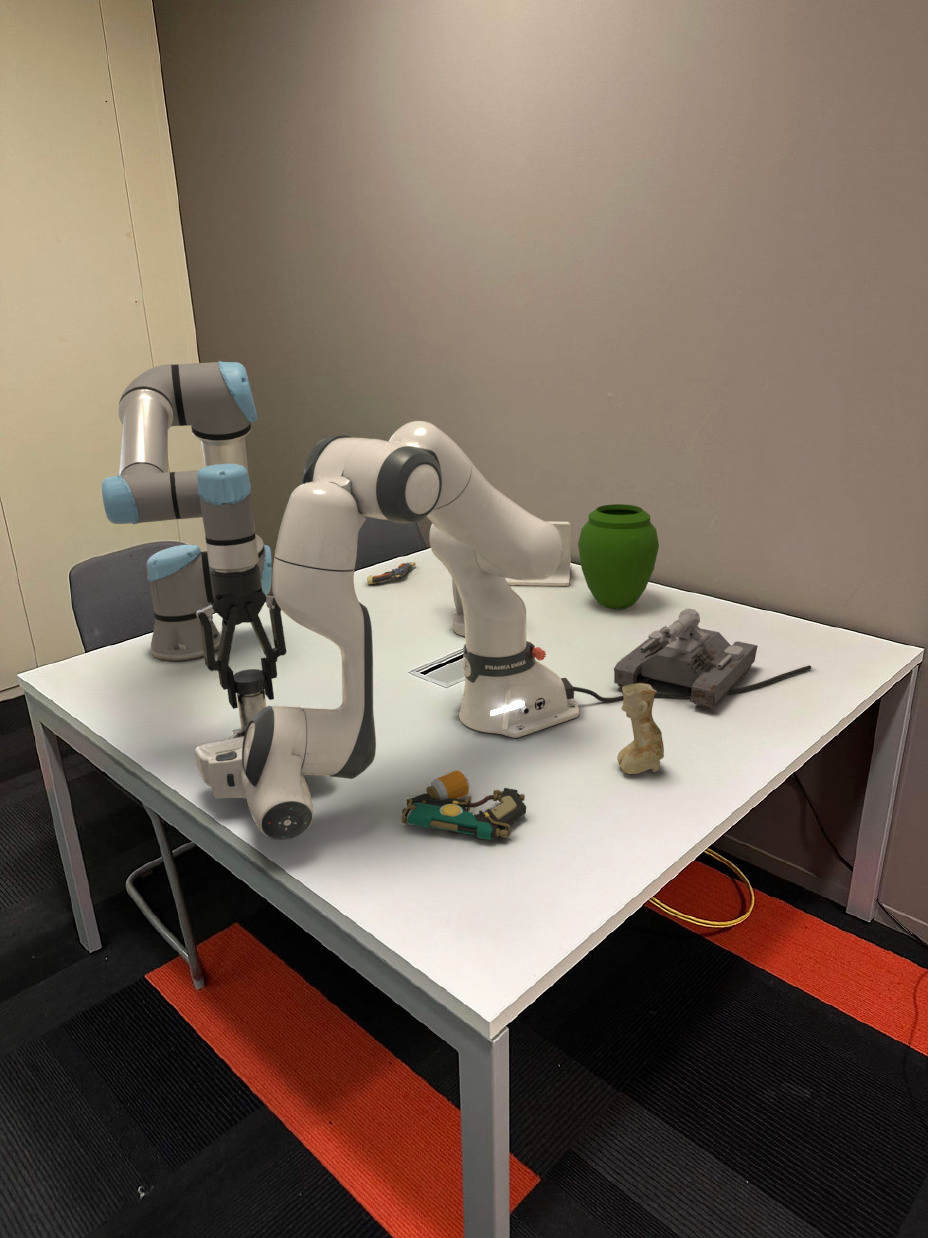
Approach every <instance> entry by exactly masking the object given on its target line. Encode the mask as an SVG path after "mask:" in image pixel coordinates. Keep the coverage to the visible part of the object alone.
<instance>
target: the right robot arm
mask: <svg viewBox="0 0 928 1238" xmlns="http://www.w3.org/2000/svg"><path fill="white" fill-rule="evenodd" d="M301 479H302V480H301V483H302V484H300V485H298V486H297V487H296V488H295V489H294V490H293V491H292V492H291V494H290V496H289V499H288V502H287V504H286V506H285V510H284V513H283V516H282V519H281V523H280V527H279V530H278V535H277V539H276V544H275V550H274V556H273V562H272V563H273V564H272V581H271V593H272V595H273V596H274V598H275V601H276V603H277V604H278V606H279V607H280V608H281V612H282V613H284V614H285V615H287V617H288V618H290V619H291V620H292V621H293V622H295V623H296V624H298V625H300V626H301V627H304V628H305V629H307V630H309V631H311V632H313V633H315V634H317V635H319V636H321V637H323V638H325V639H327V640H329V641H331V642H332V643H334V645H336V647H338V649H339V653H340V656H341V697H342V699H341V704H340V705H339V706H338V707H336V708H314V707H313V708H312V707H301V706H289V705H288V706H287V705H285V706H284V705H266V708H264V709H262V710H261V711H260V712H259V713H258V714H257V715H256V716H255V717H254V718H253V719H252V720H251V721H250V723H249V724H248V726H247V728H246V731H245V735H244V736H243V732H242V729H241V728H238V729H232V734H231V735H230V736H229V737H228V738H227V739H224V740H217V741H213V742H207V743H201V744H199V745H198V746H196V747H195V749H194V753H195V760H196V766H197V770H198V773H199V775H200V777H201V779H202V781H203V782H204V783H205V785H207V786H208V787H209V788H210V789H211V792H212V795H213V797H214V798H215V799H245V800H246V803H247V806H248V810H249V812H250V815H251V818H252V820H253V821H254V824H255V826H256V827H257V828H258V829H259V831H260V832H261V833H262V834H263V835H264V836H266V837H268V838H269V839H271V840H281V841H282V840H291V839H295V838H298V836H300V835H302V834H303V833H305V832H306V831H307V830H308V829H309V828H310V827H311V825H312V823H313V820H314V806H313V805H314V804H313V801H312V800H313V799H312V795H311V792H310V789H309V786H308V784H307V783H308V782H307V781H306V778H305V777H304V776H328V777H331V778H341V779H349V780H353V779H355V778H357V777H359V776H360V775H361V774H362V773H364V771H366V770H367V769H368V768H369V767H370V766H371V765H372V764H373V762H374V760H375V757H376V749H377V738H376V737H377V736H376V726H375V715H374V713H375V712H374V647H373V646H374V645H373V643H374V641H373V628H372V621H371V616H370V612H369V609H368V608H367V606H366V605H364V604H363V603H361V602H360V601H359V600H358V597H357V593H356V590H355V582H354V580H355V569H356V562H357V554H358V552H357V551H358V544H359V543H358V541H359V532H360V530H361V528H362V527H363V524H364V523H365V522H366V520H367V518H371V519H375V520H386V521H390V522H391V523H395V524H414V523H415V524H416V523H419V522H421V521H423V520H424V519H426V518H427V519H428V520H429V521H430V522H431V525H430V529H429V534H428V540H429V541H428V543H429V546H430V549H431V552H432V554H433V555H434V556H435V557H436V558H437V560H438V561H440V563H442V565H443V566H444V567H445V568H446V569H447V571H448V573H449V575H450V577H451V580H452V579H453V581H454V583H455V585H456V587H457V590H458V592H459V595H460V598H461V601H462V606H463V611H464V623H465V636H464V638H465V639H464V640H465V641H464V642H465V644H464V645H463V650H462V651H463V656H462V666H463V667H462V668H463V674H464V689H463V694H462V695H463V696H462V702H461V705H460V710H459V712H458V718H459V721H460V722H461V723H462V724H463V725H464V726H466V727H467V728H469V729H471V730H475V731H477V732H482V733H488V734H498V735H499V734H500V735H502V736H506V737H509V738H514V739H515V738H516V739H517V738H522V737H524V736H527V735H529V734H533V733H534V732H535V733H536V732H538V731H541V730H544V729H547V728H550V727H554V726H555V725H559V724H561V723H564V722H567V721H570V720H572V719H573V720H574V719H576V718H578V717H579V716H580V707H579V705H578V703H577V701H576V700H575V692H576V693H577V692H578V693H582V694H587V695H590V696H592V697H594V698H595V699H596V700H597V701H599V702H603V703H614V702H615V703H616V702H620V701H623V700H624V694H623V695H620V696H615V697H603V696H601V695H599V694H598V693H597V692H595V691H594V690H592V689H588V688H583V687H578V686H574V685H573V684H572V683H571V682H570V681H569V680H568V678H567V677H560V676H559V675H558V674H557V673H556V672H555V671H554V670H552V669H550V667H547V666H546V665H545V664H543V663H542V661H543V660H545V658H546V657H547V653H546V651H545V650H544V649H543V648H541V647H539V646H535V644H533V643H532V642H530V641H528V640H527V608H526V607H527V606H526V603H525V602H524V600H523V598H522V597H521V596H520V595H519V594H518V593H517V592H515V590H514V589H513V588H512V587H511V585H508V583H507V581H506V579H505V578H510V579H515V580H544V579H547V578H548V577H550V576H551V575H552V574H553V573H554V572H555V571H556V569H557V568H558V566H559V564H560V562H561V559H562V555H563V542H562V538H561V535H560V533H559V531H558V529H557V528H556V527H555V526H554V525H552V524H550V523H548V522H549V521H546V520H544V519H542V518H539V517H538V516H536V515H534V514H532V513H530V512H529V511H527V510H526V509H524V508H523V507H521V506H520V505H519V504H518V503H516V502H515V501H513V500H512V499H511V498H509V497H507V496H506V495H505V494H504V493H502V492H501V491H499V490H498V489H497V488H495V486H493V485H492V484H491V483H490V482H489V481H488V480H487V479H486V478H485V477H484V475H483V473H481V471H480V470H479V468H477V467H476V465H475V464H474V463H473V461H472V460H471V459H470V458H469V456H468V454H467V453H466V452H465V451H464V450H463V449H462V448H461V447H460V446H459V445H458V444H457V443H456V442H455V441H454V440H453V439H452V438H451V437H450V436H449V435H447V433H445V432H444V431H443V430H442V429H440V428H438V426H436V425H435V424H433V423H431V422H428V421H425V420H414V421H409V422H407V423H405V424H403V425H402V426H400V427H399V428H397V429H396V430H395V431H394V433H393V434H392V435H391V436H390V438H389V440H383V439H380V438H379V439H378V438H367V437H352V436H349V435H346V434H345V435H332V436H327V437H324V438H322V439H320V440H319V441H318V442H316V444H314V446H313V447H312V448H311V450H310V452H309V454H308V455H307V457H306V461H305V464H304V468H303V473H302V478H301ZM540 661H541V662H540ZM811 669H812V665H810V664H809V665H805V666H802V667H799V668H797V669H792V670H790V671H787V672H784V673H782V674H781V673H780V674H777V675H776V676H773V677H770V678H768V679H766V680H763V681H759V682H757V683H753V684H749V685H745V686H741V687H737V688H732V689H731V690H729V691H728V694H727V695H732V694H737V693H741V692H746V691H749V690H753V689H757V688H759V687H763V686H766V685H768V684H771V683H773V682H776V681H777V682H778V681H779V680H781V679H784V678H785V679H786V678H788V677H790V676H794V675H797V674H800V673H802V672H806V671H809V670H811ZM691 693H692V692H662V691H661V692H660V691H656V694H655V696H654V697H664V698H691Z"/></svg>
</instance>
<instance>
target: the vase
mask: <svg viewBox="0 0 928 1238" xmlns="http://www.w3.org/2000/svg"><path fill="white" fill-rule="evenodd" d="M587 516H588V517H587V518H588V521H587V522H586V523H585V524H584V525H583V526H582V527H581V529H580V534H579V538H578V541H577V546H578V554H579V562H580V569H581V571H582V574H583V577H584V580H585V583H586V585H587V588H588V590H589V591H590V594H592V597H593V598H594V600H595V601H596V602H597V603H598V604H599V605H600V606H602V607H604V608H606V609H609V610H625V609H628V608H630V607H632V606H634V604H636V602H638V601H639V599H640V597H641V596H642V595H643V593H644V592H645V590H646V588H647V586H648V584H649V581H650V579H651V577H652V574H653V572H654V570H655V566H656V562H657V557H658V552H659V548H660V544H659V543H660V542H659V537H658V531H657V528H656V527H655V526H654V524H653V523H652V522H651V515H650V514H649V512H647V511H645V510H644V509H643V508H642V507H641V506H638V505H633V504H622V503H621V504H619V503H616V504H615V503H614V504H604V505H601V506H598V507H597V508H595V509H594V510H592V511H591V512H590V513H589V514H588V515H587Z"/></svg>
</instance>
